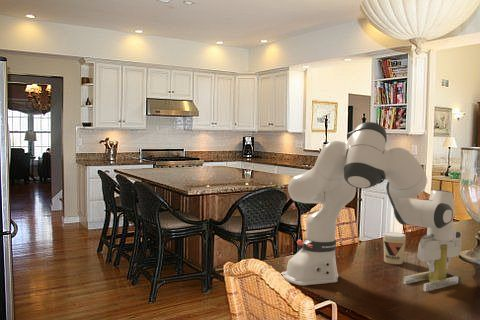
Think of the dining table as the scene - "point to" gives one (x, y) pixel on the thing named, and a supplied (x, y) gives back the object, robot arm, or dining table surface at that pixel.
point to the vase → (440, 266)
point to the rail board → (450, 280)
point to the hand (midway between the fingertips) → (438, 270)
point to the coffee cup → (394, 247)
